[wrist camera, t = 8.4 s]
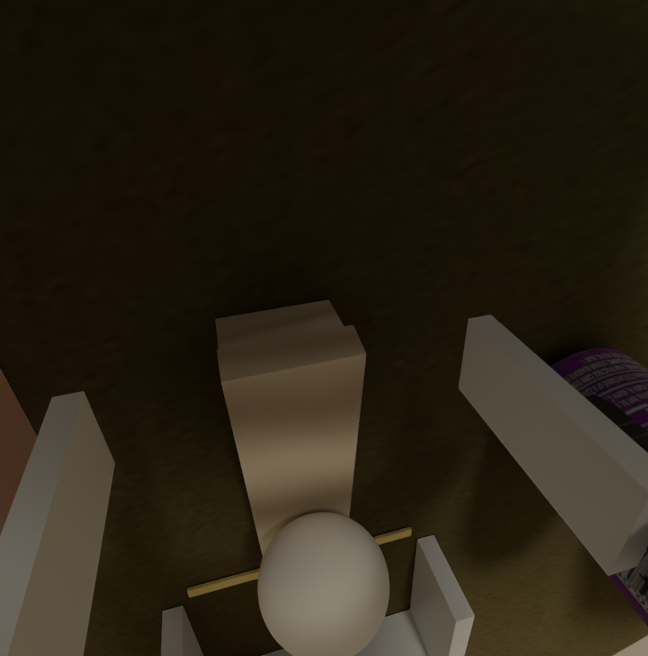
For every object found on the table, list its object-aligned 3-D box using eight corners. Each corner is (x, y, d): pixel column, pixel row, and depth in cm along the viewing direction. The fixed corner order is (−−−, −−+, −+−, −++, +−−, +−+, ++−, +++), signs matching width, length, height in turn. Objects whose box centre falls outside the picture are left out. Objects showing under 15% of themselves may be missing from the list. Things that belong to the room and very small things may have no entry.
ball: (263, 691, 14) (242, 517, 16) (272, 672, 18) (255, 536, 20) (421, 647, 14) (377, 487, 17) (393, 639, 19) (362, 512, 21)
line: (186, 588, 23) (186, 591, 23) (410, 526, 25) (411, 529, 25) (189, 594, 23) (189, 597, 23) (409, 533, 25) (410, 535, 25)
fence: (162, 610, 23) (158, 718, 20) (433, 534, 26) (474, 615, 22) (197, 684, 28) (199, 782, 24) (422, 614, 31) (454, 691, 27)
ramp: (211, 298, 15) (219, 374, 12) (326, 280, 16) (366, 346, 13) (263, 553, 23) (277, 644, 20) (338, 533, 24) (365, 617, 21)
